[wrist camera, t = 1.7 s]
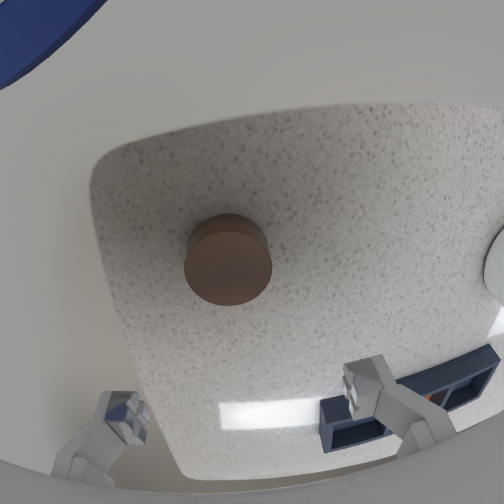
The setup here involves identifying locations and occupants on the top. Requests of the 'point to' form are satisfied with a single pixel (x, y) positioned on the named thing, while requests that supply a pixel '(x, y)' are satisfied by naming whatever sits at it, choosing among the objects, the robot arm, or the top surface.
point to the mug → (495, 269)
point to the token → (228, 260)
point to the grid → (424, 383)
